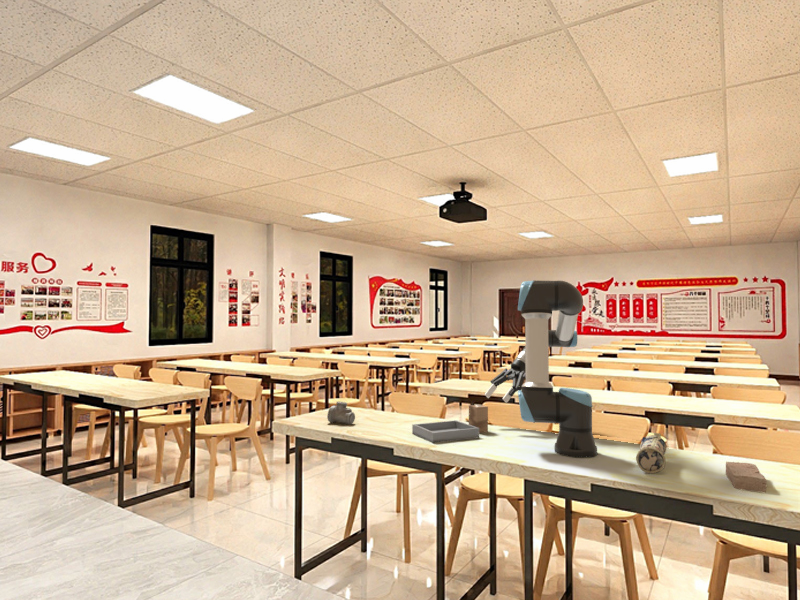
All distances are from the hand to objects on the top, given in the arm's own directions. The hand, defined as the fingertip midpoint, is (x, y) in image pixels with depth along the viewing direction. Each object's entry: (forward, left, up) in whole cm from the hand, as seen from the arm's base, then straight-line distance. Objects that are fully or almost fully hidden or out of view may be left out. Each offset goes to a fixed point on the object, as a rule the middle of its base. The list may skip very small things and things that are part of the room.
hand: (495, 398), depth 238 cm
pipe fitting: (+40, +58, -14) cm, 72 cm away
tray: (-2, +27, -14) cm, 31 cm away
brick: (-95, -24, -14) cm, 99 cm away
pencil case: (-71, -13, -14) cm, 74 cm away
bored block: (0, +9, -14) cm, 17 cm away
